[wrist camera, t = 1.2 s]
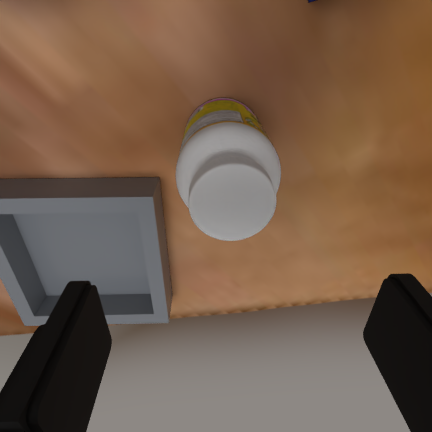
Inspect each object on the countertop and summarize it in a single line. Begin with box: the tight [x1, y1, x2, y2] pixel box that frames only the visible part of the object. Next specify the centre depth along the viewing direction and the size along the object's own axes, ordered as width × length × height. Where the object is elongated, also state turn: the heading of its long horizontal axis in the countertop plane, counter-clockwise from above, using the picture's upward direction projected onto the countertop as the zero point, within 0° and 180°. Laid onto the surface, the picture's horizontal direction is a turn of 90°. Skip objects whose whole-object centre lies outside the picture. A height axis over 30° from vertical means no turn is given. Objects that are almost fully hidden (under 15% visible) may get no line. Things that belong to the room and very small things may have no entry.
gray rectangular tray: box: [0, 177, 172, 326], centre depth 31 cm, size 16×16×4 cm
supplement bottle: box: [176, 98, 281, 241], centre depth 21 cm, size 7×7×13 cm
